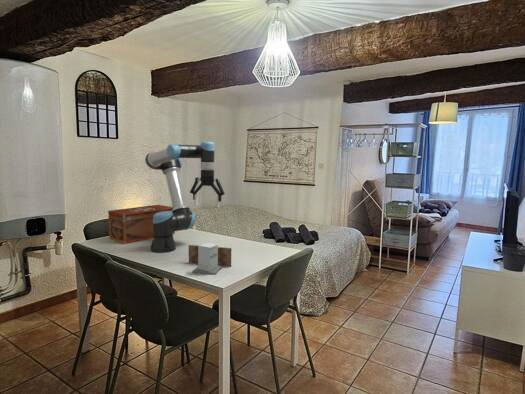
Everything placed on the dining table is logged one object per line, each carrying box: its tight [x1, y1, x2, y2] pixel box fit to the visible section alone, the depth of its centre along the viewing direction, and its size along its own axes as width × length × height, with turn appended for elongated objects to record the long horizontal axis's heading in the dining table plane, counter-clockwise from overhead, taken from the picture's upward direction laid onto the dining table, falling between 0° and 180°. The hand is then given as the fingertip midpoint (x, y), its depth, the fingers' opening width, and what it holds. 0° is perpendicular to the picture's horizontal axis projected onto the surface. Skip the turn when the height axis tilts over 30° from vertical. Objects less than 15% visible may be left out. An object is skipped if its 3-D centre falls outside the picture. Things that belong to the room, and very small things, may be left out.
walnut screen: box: [188, 244, 232, 268], centre depth 178 cm, size 24×1×10 cm, turn 79°
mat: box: [192, 266, 223, 276], centre depth 169 cm, size 12×10×1 cm
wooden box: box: [107, 204, 176, 245], centre depth 236 cm, size 20×41×20 cm, turn 142°
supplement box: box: [197, 242, 219, 272], centre depth 168 cm, size 7×7×13 cm
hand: (207, 206), depth 189 cm, fingers open, 13 cm apart
